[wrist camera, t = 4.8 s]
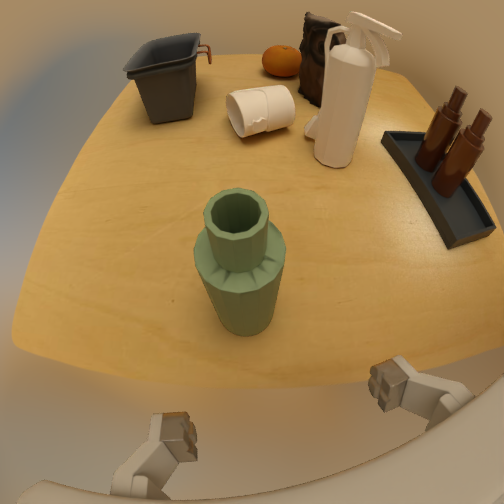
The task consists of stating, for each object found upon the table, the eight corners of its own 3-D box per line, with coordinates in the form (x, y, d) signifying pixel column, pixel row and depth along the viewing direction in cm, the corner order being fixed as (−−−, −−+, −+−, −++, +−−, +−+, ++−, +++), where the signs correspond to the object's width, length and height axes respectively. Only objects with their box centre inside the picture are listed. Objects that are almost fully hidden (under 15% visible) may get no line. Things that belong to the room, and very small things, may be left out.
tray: (488, 235, 35) (496, 227, 32) (447, 249, 34) (457, 240, 31) (426, 142, 46) (430, 132, 44) (380, 141, 45) (384, 130, 42)
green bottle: (278, 329, 29) (307, 249, 13) (224, 341, 28) (185, 274, 13) (265, 280, 32) (275, 165, 16) (215, 291, 31) (177, 182, 16)
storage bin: (154, 88, 56) (143, 41, 44) (215, 78, 57) (210, 29, 45) (137, 135, 46) (117, 74, 34) (215, 122, 47) (208, 55, 34)
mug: (295, 136, 45) (299, 98, 38) (245, 148, 43) (244, 108, 36) (267, 105, 50) (267, 71, 43) (223, 114, 48) (220, 80, 41)
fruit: (307, 81, 56) (310, 54, 49) (264, 81, 56) (265, 53, 49) (297, 66, 61) (299, 42, 54) (259, 66, 61) (259, 41, 54)
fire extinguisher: (319, 128, 46) (338, 4, 24) (366, 167, 41) (411, 31, 19) (291, 138, 44) (304, 1, 22) (339, 181, 39) (382, 26, 18)
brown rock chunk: (335, 116, 48) (352, 28, 31) (280, 97, 52) (284, 14, 34) (350, 95, 54) (365, 22, 36) (302, 79, 57) (309, 9, 39)
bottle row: (457, 197, 38) (503, 126, 22) (440, 199, 37) (489, 122, 22) (426, 154, 43) (460, 84, 28) (409, 154, 42) (442, 78, 27)
